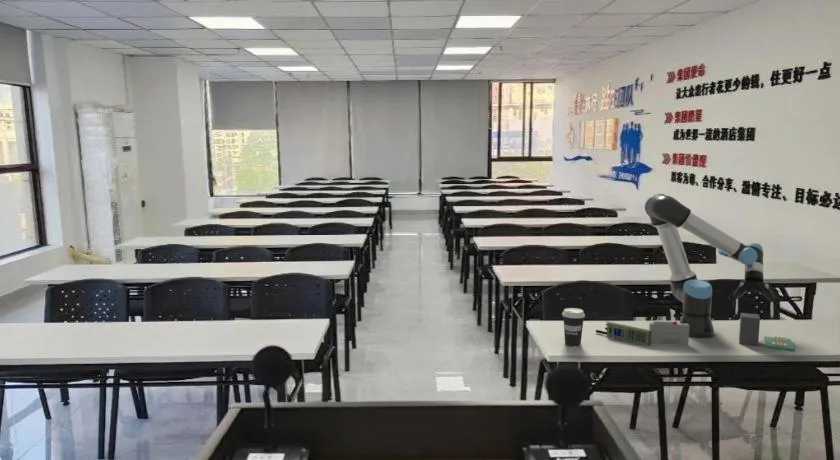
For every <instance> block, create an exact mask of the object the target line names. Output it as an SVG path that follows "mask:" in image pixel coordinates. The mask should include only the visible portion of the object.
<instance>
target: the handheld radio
mask: <svg viewBox="0 0 840 460" xmlns="http://www.w3.org/2000/svg"><path fill="white" fill-rule="evenodd" d="M605 326H606V327H604V329H605V331H603V330H599V329H596V330H595V333H597V334H601V335H607V336H609V337H608V338H611V337H614V338H613V339H616V338H618V339H617V340H620V339H622V340H621V341H625V340H626V342H631V343H635V344H640V345H645V346H647V347H648V346H650V345H652V344H651V330H649V329H647V328H642V327H637V326H633V325H632V326H631V325H626V324H621V323H616V322H612V321H606V322H605ZM607 336H606V337H607Z"/></svg>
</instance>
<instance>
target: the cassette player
mask: <svg viewBox="0 0 840 460" xmlns="http://www.w3.org/2000/svg"><path fill="white" fill-rule="evenodd" d="M648 330H651V345H663V346H665V345H666V346H687V347H688V346H689V340H690V339H689V338H690V336H689V325H688V324H685V323H679V322H677V321H675V320H674V321H673V320H653V321H652V322H650V321H649V325H648Z"/></svg>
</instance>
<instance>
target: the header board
mask: <svg viewBox="0 0 840 460" xmlns="http://www.w3.org/2000/svg"><path fill="white" fill-rule="evenodd" d="M763 339H764V343H765V348H767V349H774V350H783V351H791V352H795V346H794V344H793V341H792V339H791V338H785V337H784V336H782V337H781V336H766V335H764V337H763Z"/></svg>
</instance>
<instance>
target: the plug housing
mask: <svg viewBox="0 0 840 460" xmlns="http://www.w3.org/2000/svg"><path fill="white" fill-rule="evenodd" d="M760 321H761V318H760V314H756V313H748V312H740V316H739V332H738V333H739V334H738V343H739V345H747V346H754V347H758V346H759V342H760V341H759V339H760V337H759V336H760V327H761V326H760V324H761V323H760Z"/></svg>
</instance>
